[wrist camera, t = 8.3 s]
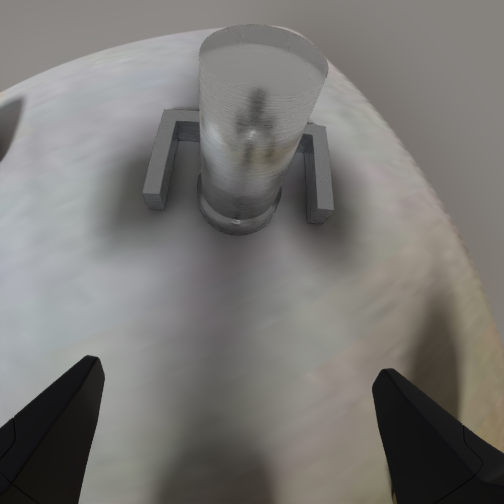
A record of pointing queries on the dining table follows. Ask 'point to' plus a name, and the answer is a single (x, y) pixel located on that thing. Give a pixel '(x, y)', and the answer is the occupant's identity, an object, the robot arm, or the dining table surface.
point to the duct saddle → (188, 129)
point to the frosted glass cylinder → (252, 120)
